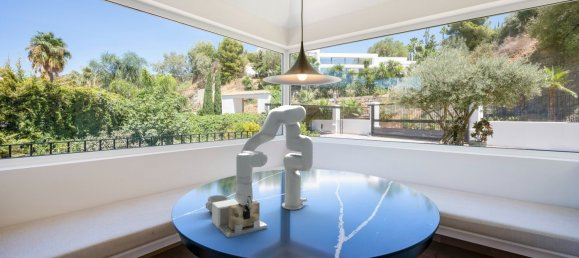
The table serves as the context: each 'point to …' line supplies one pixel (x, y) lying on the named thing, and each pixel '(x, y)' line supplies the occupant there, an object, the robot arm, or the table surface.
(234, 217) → the door
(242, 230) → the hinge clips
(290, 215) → the table surface
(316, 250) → the table surface
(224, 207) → the cabinet
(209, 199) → the teacup
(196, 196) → the table surface
